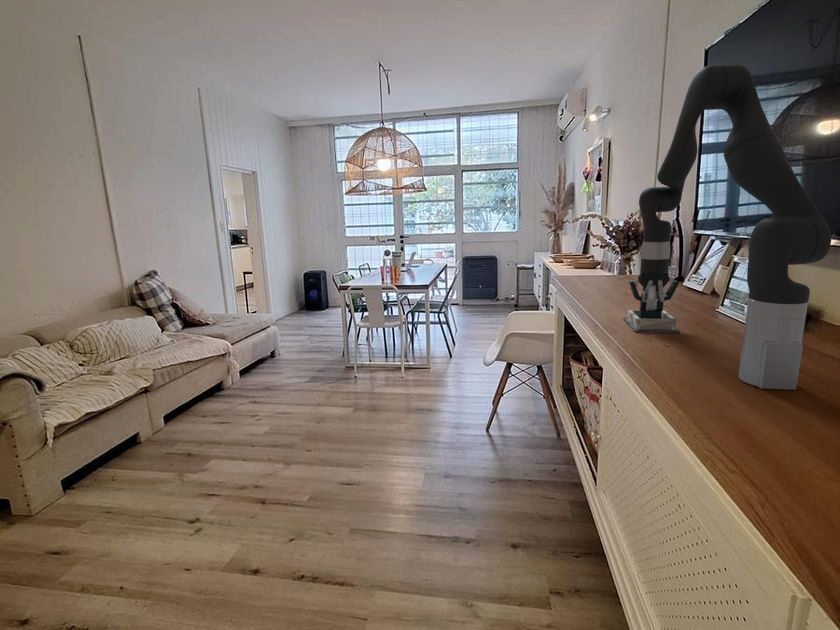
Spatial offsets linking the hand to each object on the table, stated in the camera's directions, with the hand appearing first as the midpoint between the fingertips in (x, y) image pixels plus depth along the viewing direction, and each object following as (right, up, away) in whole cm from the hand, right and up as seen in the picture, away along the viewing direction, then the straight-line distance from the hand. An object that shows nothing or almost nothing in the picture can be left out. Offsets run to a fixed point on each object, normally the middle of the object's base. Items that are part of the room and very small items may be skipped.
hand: (651, 313), depth 133 cm
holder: (0, -4, +1) cm, 4 cm away
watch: (0, -2, +1) cm, 2 cm away
